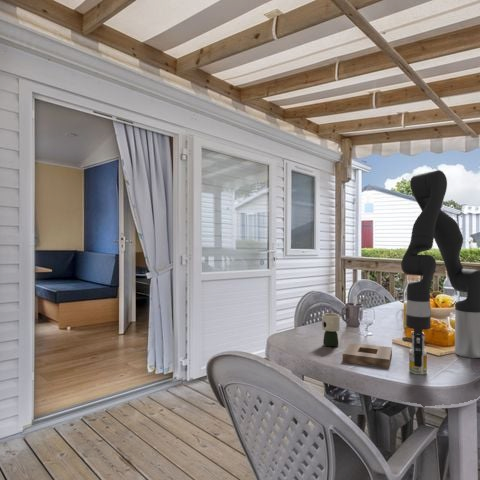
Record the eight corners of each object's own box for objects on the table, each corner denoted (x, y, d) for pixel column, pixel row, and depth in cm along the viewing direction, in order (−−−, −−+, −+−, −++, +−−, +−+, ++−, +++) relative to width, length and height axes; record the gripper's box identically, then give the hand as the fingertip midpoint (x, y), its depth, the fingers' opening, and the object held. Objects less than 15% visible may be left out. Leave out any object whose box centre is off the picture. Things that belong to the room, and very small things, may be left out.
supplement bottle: (421, 369, 132) (421, 341, 132) (429, 374, 127) (430, 345, 127) (406, 369, 132) (406, 341, 132) (413, 375, 127) (414, 345, 126)
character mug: (320, 341, 166) (320, 312, 166) (337, 342, 165) (337, 312, 165) (323, 349, 155) (323, 317, 155) (341, 349, 155) (341, 317, 154)
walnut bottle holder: (391, 355, 148) (391, 347, 148) (389, 368, 133) (389, 359, 133) (349, 350, 154) (349, 342, 154) (342, 361, 140) (342, 353, 140)
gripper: (431, 318, 121) (431, 372, 121) (429, 310, 134) (429, 358, 134) (405, 316, 124) (405, 368, 124) (406, 309, 137) (406, 356, 137)
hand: (417, 363), depth 129 cm, fingers closed on supplement bottle, 5 cm apart
